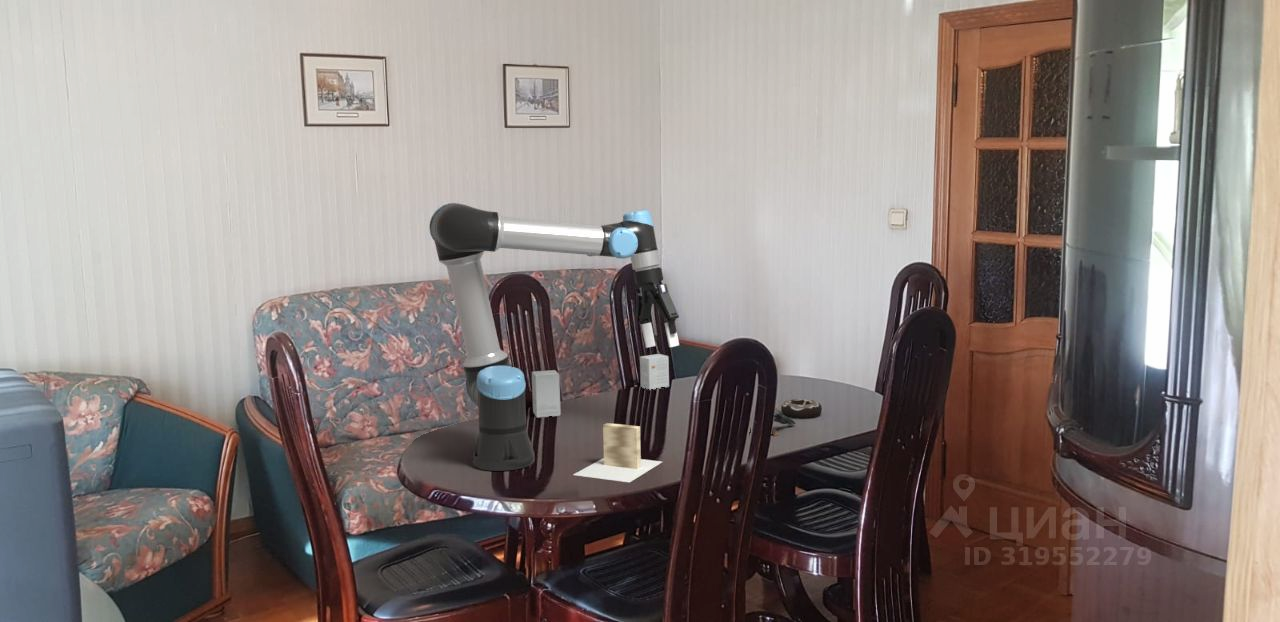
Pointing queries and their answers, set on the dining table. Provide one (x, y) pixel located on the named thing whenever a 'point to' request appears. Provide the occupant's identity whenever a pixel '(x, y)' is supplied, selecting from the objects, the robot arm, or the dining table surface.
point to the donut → (801, 408)
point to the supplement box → (546, 393)
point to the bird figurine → (781, 420)
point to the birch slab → (622, 445)
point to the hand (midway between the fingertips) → (662, 346)
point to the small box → (654, 371)
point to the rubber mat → (616, 471)
